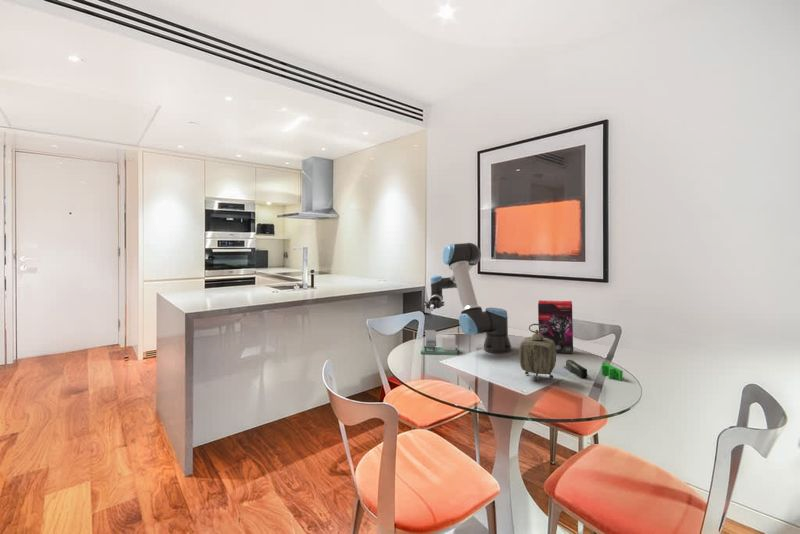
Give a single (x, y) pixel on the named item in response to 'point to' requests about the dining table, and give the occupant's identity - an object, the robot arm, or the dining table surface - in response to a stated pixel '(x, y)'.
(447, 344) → the heat-sink mount
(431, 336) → the plate
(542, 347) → the tabletop clock
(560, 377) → the dining table surface
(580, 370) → the mobile phone
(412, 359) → the dining table surface
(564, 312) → the graphics card box
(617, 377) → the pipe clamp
